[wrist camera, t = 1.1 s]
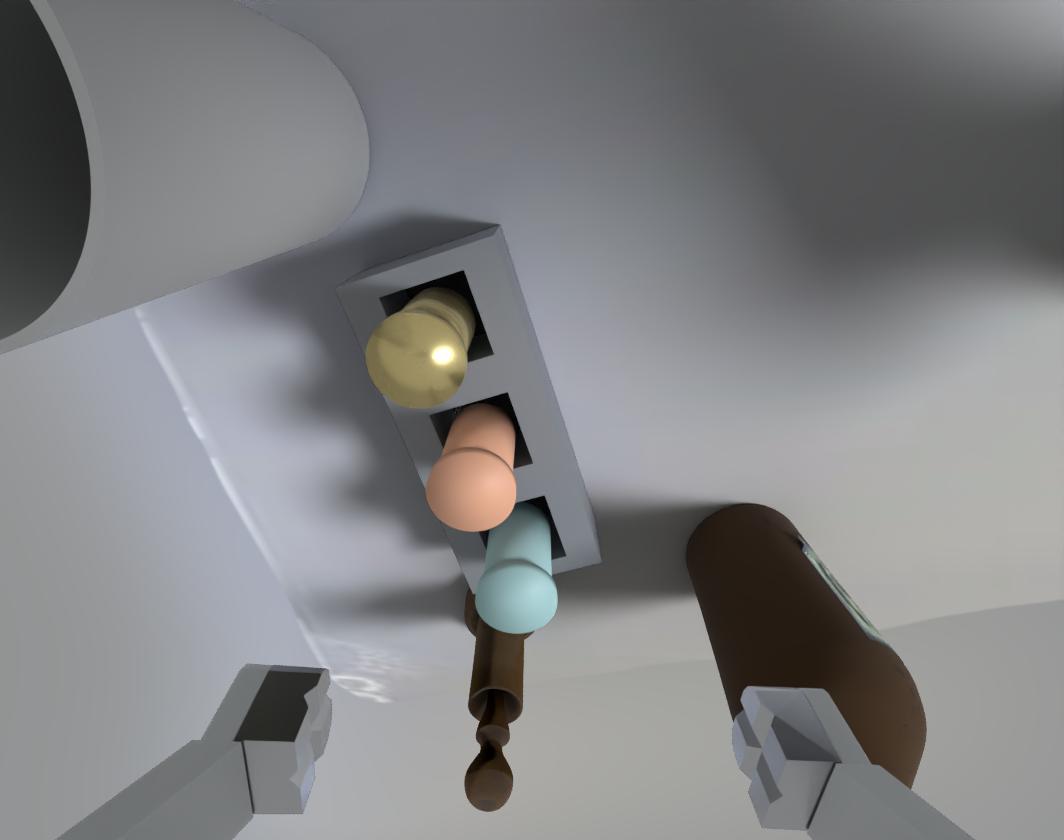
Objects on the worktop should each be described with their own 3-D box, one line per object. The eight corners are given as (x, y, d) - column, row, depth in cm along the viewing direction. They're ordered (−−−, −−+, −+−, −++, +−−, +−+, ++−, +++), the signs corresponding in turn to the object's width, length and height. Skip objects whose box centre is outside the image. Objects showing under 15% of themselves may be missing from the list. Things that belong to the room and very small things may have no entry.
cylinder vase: (399, 84, 35) (140, -60, 12) (341, 274, 40) (76, 428, 17) (192, -18, 33) (-577, -416, 10) (157, 195, 38) (-424, 248, 15)
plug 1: (463, 271, 35) (444, 299, 28) (491, 347, 37) (479, 392, 29) (387, 296, 35) (348, 330, 28) (418, 370, 37) (389, 419, 30)
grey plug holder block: (500, 224, 38) (493, 235, 33) (594, 516, 48) (601, 562, 42) (362, 270, 40) (334, 288, 34) (480, 545, 49) (473, 594, 43)
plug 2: (506, 390, 38) (499, 443, 31) (529, 454, 40) (527, 519, 33) (435, 410, 38) (411, 467, 31) (461, 473, 40) (445, 540, 33)
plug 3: (542, 490, 41) (543, 560, 34) (562, 546, 43) (567, 623, 36) (476, 508, 41) (463, 580, 34) (498, 562, 43) (491, 641, 36)
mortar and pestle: (523, 635, 53) (516, 848, 37) (456, 614, 52) (418, 823, 36) (551, 582, 50) (557, 785, 34) (481, 559, 50) (453, 756, 33)
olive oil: (701, 614, 52) (829, 972, 29) (659, 524, 48) (770, 855, 25) (819, 574, 50) (1056, 923, 27) (786, 477, 46) (1030, 789, 23)
